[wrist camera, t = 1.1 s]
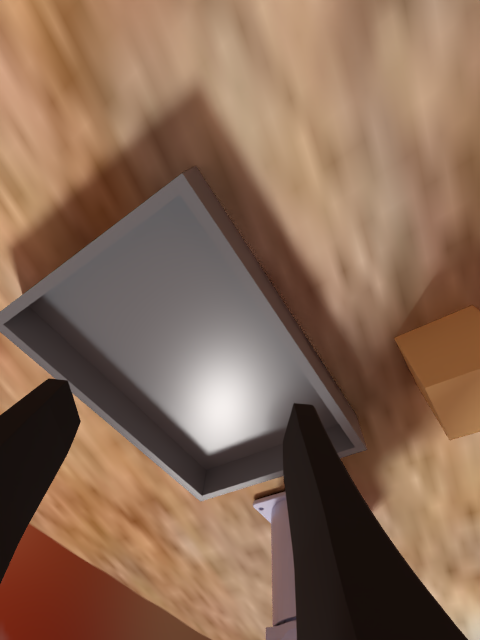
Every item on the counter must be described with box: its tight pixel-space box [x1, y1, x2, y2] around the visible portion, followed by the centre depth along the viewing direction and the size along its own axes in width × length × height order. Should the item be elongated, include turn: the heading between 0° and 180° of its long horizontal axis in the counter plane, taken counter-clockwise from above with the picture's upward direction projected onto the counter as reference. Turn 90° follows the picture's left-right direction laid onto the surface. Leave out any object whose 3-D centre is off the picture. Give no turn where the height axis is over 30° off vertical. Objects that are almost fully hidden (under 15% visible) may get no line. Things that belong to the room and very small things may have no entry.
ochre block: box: [394, 305, 480, 440], centre depth 18 cm, size 5×5×5 cm
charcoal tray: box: [0, 166, 367, 501], centre depth 21 cm, size 20×14×3 cm
